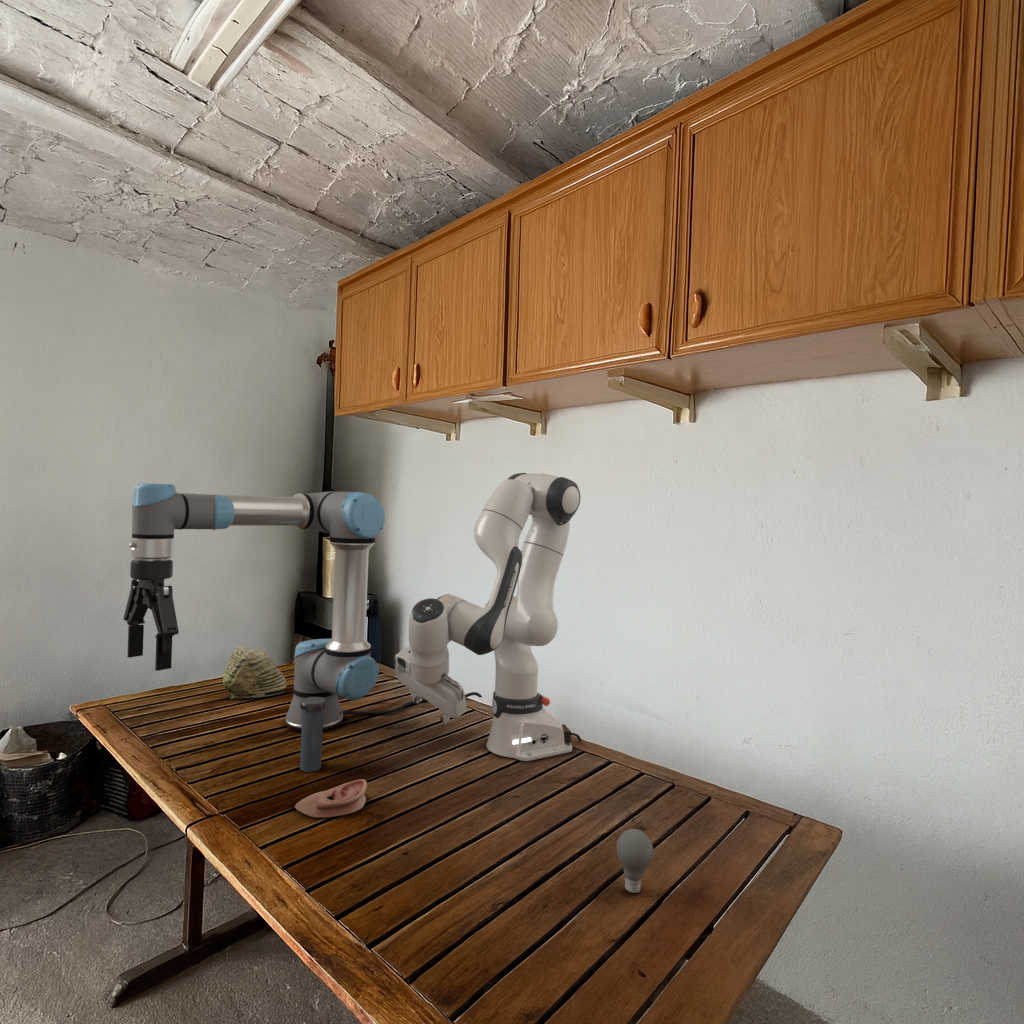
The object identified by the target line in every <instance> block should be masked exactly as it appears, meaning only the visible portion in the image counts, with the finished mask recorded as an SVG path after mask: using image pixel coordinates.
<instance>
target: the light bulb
mask: <svg viewBox="0 0 1024 1024" xmlns="http://www.w3.org/2000/svg"><path fill="white" fill-rule="evenodd" d="M615 849H616V854H617V857H618V859H619V861H620V863H621V865H622V867H623V873H624V874H623V875H624V876H625V878H624V888H625V890H627V891H628V892H630V893H634V894H635V893H639V892H640V891H641V889H642V887H641V886H642V879H643V877H644V875H645V871H646V868H647V867H648V866H649V864H650V863H651V861H652V859H653V855H654V847H653V843H652V841H651V838H649V836H648V835H647V834H646V833H645V832H643V831H642V830H641V829H636V828H629V829H627V830H625V831H623V832H622V833H621V834H620V835H619V837H618V839H617V841H616V847H615Z"/></svg>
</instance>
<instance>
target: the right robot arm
mask: <svg viewBox="0 0 1024 1024" xmlns="http://www.w3.org/2000/svg"><path fill="white" fill-rule="evenodd" d="M580 503H581V491H580V489H579V486H578V484H577V483H576V482H575V481H574V480H573V479H569V478H567V477H565V476H556V475H551V474H547V473H527V472H518V473H514V474H512V475H510V476H509V477H508V478H507V479H504V480H503V481H502V482H500V483H499V484H498V486H497V487H496V488H495V490H494V491H493V492H492V494H491V495H490V496H489V498H488V500H487V501H486V503H485V504H484V506H483V508H482V510H481V511H480V514H479V515H478V517H477V519H476V521H475V524H474V528H473V537H474V541H475V542H476V546H477V547H478V548H479V549H480V551H481V552H482V553H483V554H484V555H485V556H486V557H487V558H488V559H489V560H490V561H491V562H492V563H493V564H494V566H495V568H496V577H495V580H494V583H493V587H492V591H491V593H490V597H489V599H488V600H487V602H486V603H485V605H484V607H482V606H480V605H477V604H475V603H472V602H470V601H468V600H466V599H463V598H461V597H459V596H457V595H453V594H449V593H446V594H443V595H441V596H439V597H437V598H434V597H433V598H430V597H429V598H424V599H421V600H419V601H418V602H416V603H415V604H414V606H413V607H412V609H411V612H410V614H409V621H408V643H409V646H407V647H405V648H404V649H402V650H401V651H399V652H397V653H396V654H395V655H394V660H395V676H396V679H397V681H398V682H399V683H400V684H401V685H404V686H405V687H406V688H407V689H408V691H409V693H410V695H411V697H412V701H413V702H415V704H416V705H419V704H420V703H422V698H424V699H426V700H427V701H426V702H428V703H429V704H431V705H433V706H434V707H436V709H439V710H440V711H441V712H442V714H441V715H440V716H439V718H440V722H442V723H443V724H445V725H446V724H448V723H449V722H450V721H451V718H452V719H453V720H455V719H458V718H459V717H461V716H462V715H463V714H465V712H466V711H467V700H466V698H465V694H466V692H465V690H464V688H463V686H462V685H461V684H460V683H459V682H458V681H456V680H455V679H453V678H452V677H450V676H449V674H450V651H449V648H448V644H449V643H450V642H451V641H452V642H454V643H456V644H458V645H461V646H462V647H464V648H465V649H466V650H469V651H471V652H472V653H474V654H475V655H477V656H483V655H487V654H490V653H492V652H493V653H494V661H495V673H494V675H495V676H494V677H495V678H494V690H493V692H492V700H491V701H492V702H491V713H492V719H491V726H490V729H489V735H488V738H487V741H486V744H485V747H486V748H487V750H488V751H489V752H490V753H493V754H495V755H498V756H500V757H505V758H510V759H511V758H512V759H514V760H515V759H516V760H518V761H521V762H530V761H535V760H540V759H545V758H550V757H553V756H559V755H563V754H568V753H572V752H573V744H572V742H571V741H572V736H573V737H576V738H577V740H578V743H581V742H582V738H581V736H580V735H579V734H577V733H575V732H572V731H571V730H570V729H569V728H568V726H567V725H566V724H564V723H563V724H562V723H561V721H560V720H559V719H558V718H557V717H556V716H554V715H553V714H552V713H551V712H550V711H548V710H547V709H546V708H545V707H548V706H550V705H551V699H549V698H548V697H547V696H544V695H543V694H541V693H539V692H538V683H539V677H538V676H539V663H538V661H537V659H536V657H535V655H534V653H533V651H532V647H543V646H546V645H547V646H548V645H549V644H550V643H551V642H552V641H553V640H554V639H555V637H556V636H557V633H558V629H559V620H558V617H557V615H556V612H555V609H554V591H555V583H556V580H557V576H558V573H559V570H560V567H561V563H562V562H563V561H562V560H563V558H564V556H565V551H566V549H567V544H568V539H569V536H570V528H571V527H570V526H571V524H570V521H571V519H572V518H573V517H574V516H575V514H576V512H577V511H578V509H579V507H580V505H581V504H580ZM529 516H531V525H530V527H529V529H528V531H527V534H526V536H525V538H524V541H523V543H522V547H521V549H520V546H519V543H520V538H521V536H522V535H521V534H522V532H523V530H524V528H525V526H526V524H527V521H528V518H529ZM516 587H517V588H516ZM515 590H516V594H515ZM514 594H515V595H516V596H515V595H514Z"/></svg>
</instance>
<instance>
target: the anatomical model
mask: <svg viewBox="0 0 1024 1024" xmlns="http://www.w3.org/2000/svg"><path fill="white" fill-rule="evenodd" d="M367 788H368V782H367V780H366V779H364V778H361V779H355V780H352V781H348V782H345V783H342V784H340V785H337V786H335V787H332V788H329V789H327V790H322V791H317V792H315V793H312V794H310V795H308V796H306V797H304V798H302V799H301V800H299V801H298V802H297V803H296V804H295V805H294V808H295V810H297V811H298V812H299V813H301V814H303V815H306V816H308V817H310V818H317V819H319V818H333V817H340V816H345V815H349V814H353V813H355V812H358V811H360V810H361V809H362V808H364V806H365V804H366V802H367V797H366V795H365V793H366V791H367Z"/></svg>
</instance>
